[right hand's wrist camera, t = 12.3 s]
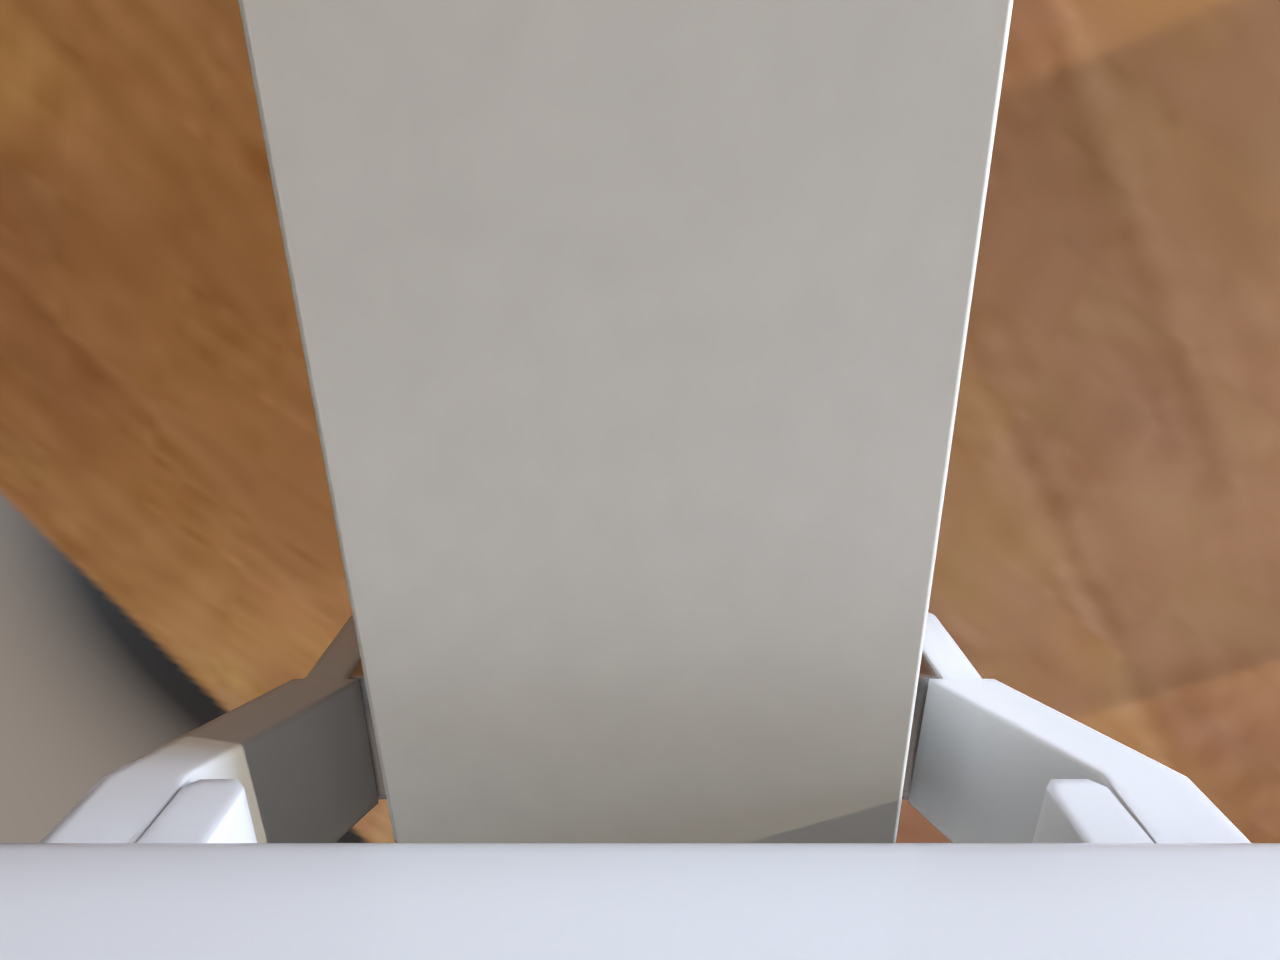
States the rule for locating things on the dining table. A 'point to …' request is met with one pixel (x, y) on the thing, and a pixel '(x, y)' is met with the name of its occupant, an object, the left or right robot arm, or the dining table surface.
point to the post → (634, 391)
